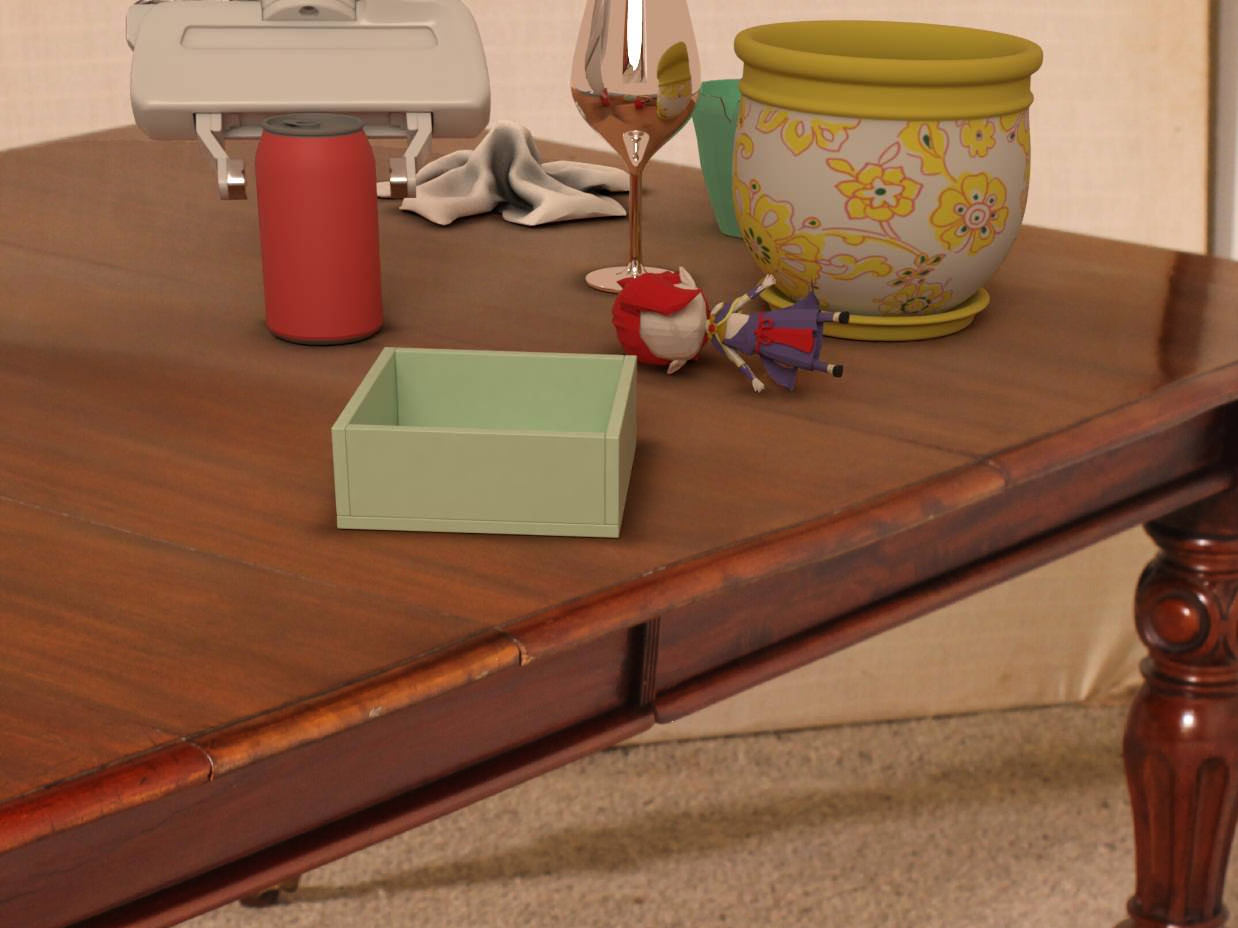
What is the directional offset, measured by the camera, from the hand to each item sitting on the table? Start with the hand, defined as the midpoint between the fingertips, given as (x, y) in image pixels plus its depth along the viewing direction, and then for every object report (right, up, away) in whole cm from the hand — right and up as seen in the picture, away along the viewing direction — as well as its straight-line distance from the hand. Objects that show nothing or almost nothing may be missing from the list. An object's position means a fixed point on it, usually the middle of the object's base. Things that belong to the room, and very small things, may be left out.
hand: (319, 193), depth 107 cm
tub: (+13, -18, -19) cm, 29 cm away
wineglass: (+17, -2, +15) cm, 23 cm away
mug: (+27, +4, +30) cm, 41 cm away
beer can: (0, -8, +3) cm, 8 cm away
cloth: (+5, +7, +36) cm, 37 cm away
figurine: (+23, -11, -3) cm, 25 cm away
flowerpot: (+32, -5, +10) cm, 34 cm away
